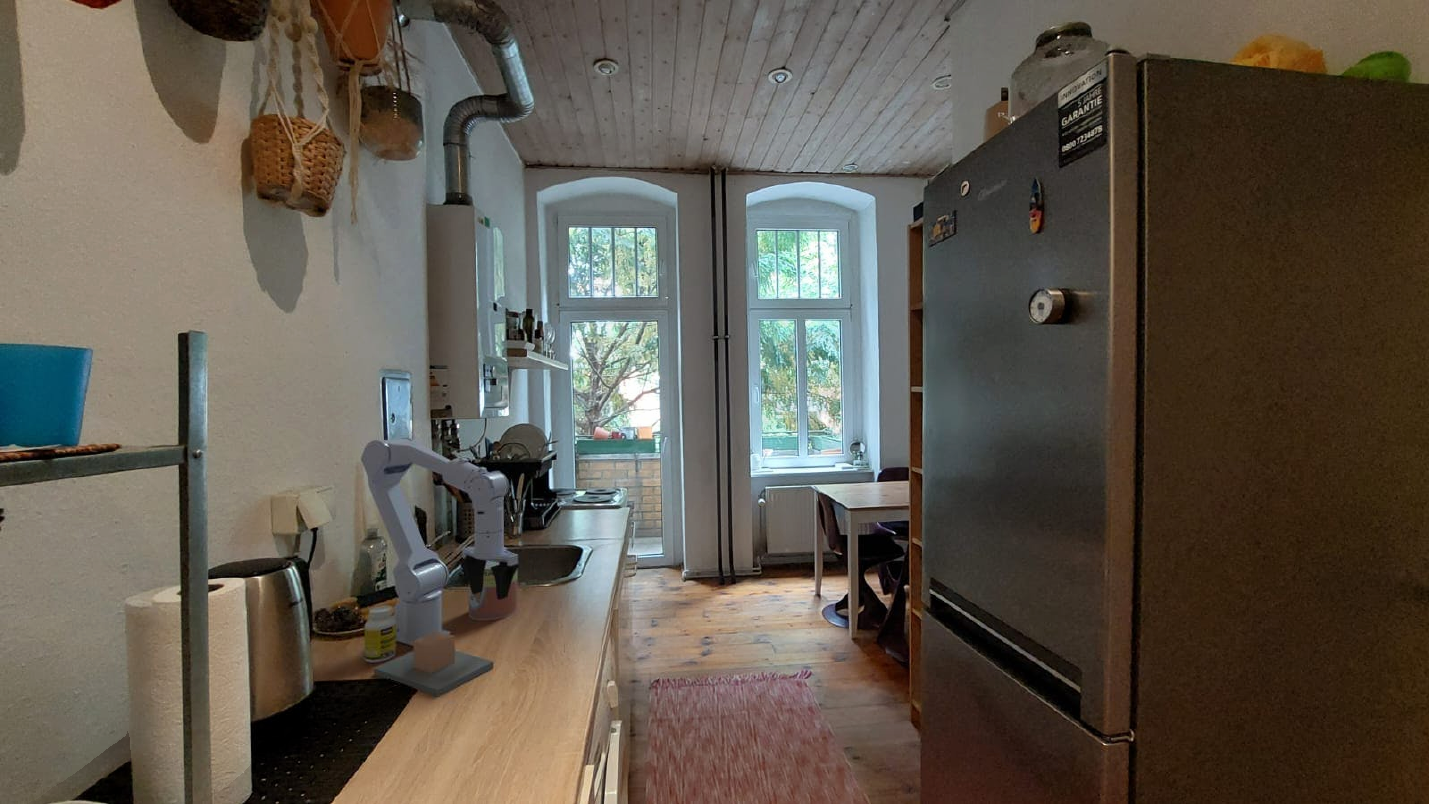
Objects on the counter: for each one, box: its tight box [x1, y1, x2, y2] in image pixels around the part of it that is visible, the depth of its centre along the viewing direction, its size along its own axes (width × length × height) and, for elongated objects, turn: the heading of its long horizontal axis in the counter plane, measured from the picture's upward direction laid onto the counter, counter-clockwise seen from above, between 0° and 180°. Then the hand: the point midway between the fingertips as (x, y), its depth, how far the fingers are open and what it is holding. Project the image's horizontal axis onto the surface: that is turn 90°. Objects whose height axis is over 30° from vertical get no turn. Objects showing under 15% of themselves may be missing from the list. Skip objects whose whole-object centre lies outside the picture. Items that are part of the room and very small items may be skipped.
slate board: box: [373, 650, 494, 697], centre depth 108 cm, size 18×12×1 cm, turn 62°
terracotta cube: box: [413, 631, 456, 673], centre depth 108 cm, size 5×5×5 cm
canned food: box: [468, 561, 519, 621], centre depth 139 cm, size 11×11×12 cm
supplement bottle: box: [364, 604, 397, 664], centre depth 114 cm, size 5×5×10 cm
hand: (489, 595), depth 119 cm, fingers open, 7 cm apart
